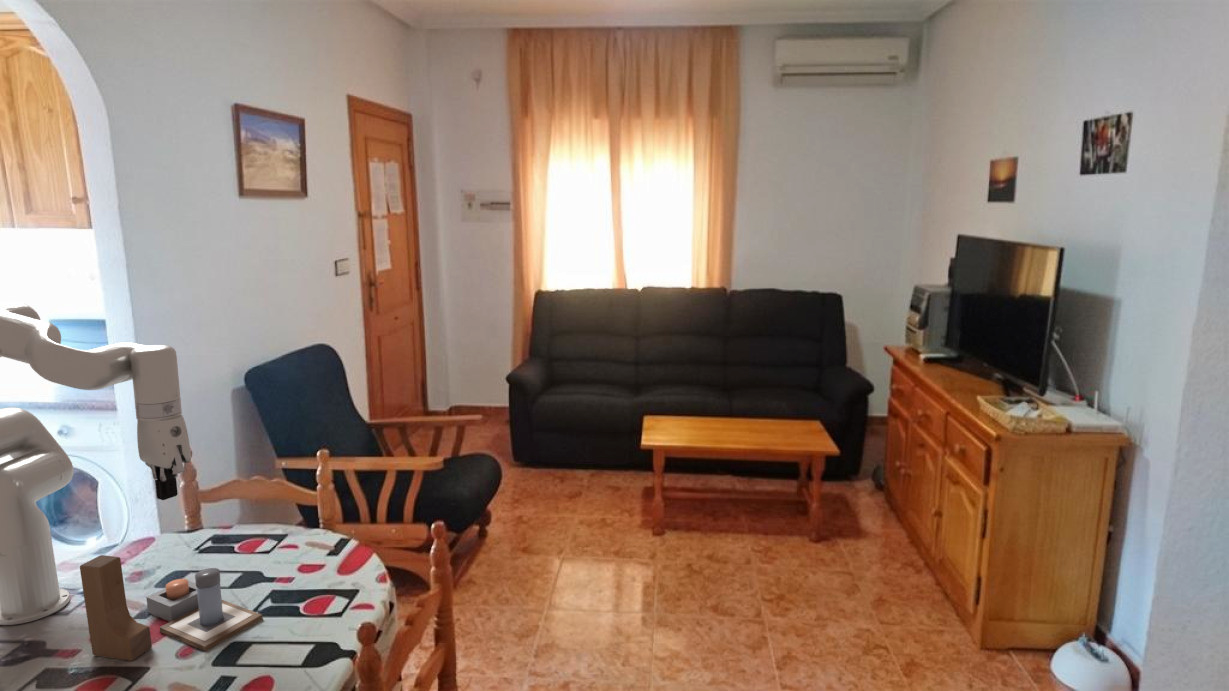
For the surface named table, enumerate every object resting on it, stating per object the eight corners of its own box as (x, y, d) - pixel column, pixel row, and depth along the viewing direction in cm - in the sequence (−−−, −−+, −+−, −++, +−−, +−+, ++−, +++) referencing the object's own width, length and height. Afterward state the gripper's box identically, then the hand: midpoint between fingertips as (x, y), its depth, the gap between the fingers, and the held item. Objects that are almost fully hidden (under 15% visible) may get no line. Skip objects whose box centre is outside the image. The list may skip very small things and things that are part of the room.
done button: (162, 597, 144) (161, 585, 144) (181, 588, 148) (180, 577, 147) (174, 601, 143) (173, 590, 142) (193, 592, 146) (192, 581, 146)
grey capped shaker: (194, 622, 138) (190, 575, 137) (215, 611, 142) (211, 566, 140) (207, 628, 137) (203, 580, 135) (228, 617, 140) (224, 571, 138)
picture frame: (159, 631, 137) (159, 626, 137) (218, 602, 148) (217, 597, 148) (205, 651, 131) (204, 645, 131) (262, 619, 142) (262, 613, 141)
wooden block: (153, 647, 132) (141, 558, 129) (132, 662, 128) (120, 570, 125) (113, 641, 134) (101, 554, 131) (91, 656, 130) (78, 565, 127)
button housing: (148, 612, 144) (146, 597, 143) (186, 594, 151) (185, 579, 150) (172, 622, 140) (170, 606, 140) (210, 603, 147) (208, 588, 147)
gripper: (201, 409, 138) (209, 498, 141) (155, 399, 144) (163, 484, 147) (162, 418, 131) (171, 511, 134) (115, 407, 138) (125, 496, 141)
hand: (167, 497), depth 141 cm, fingers closed
